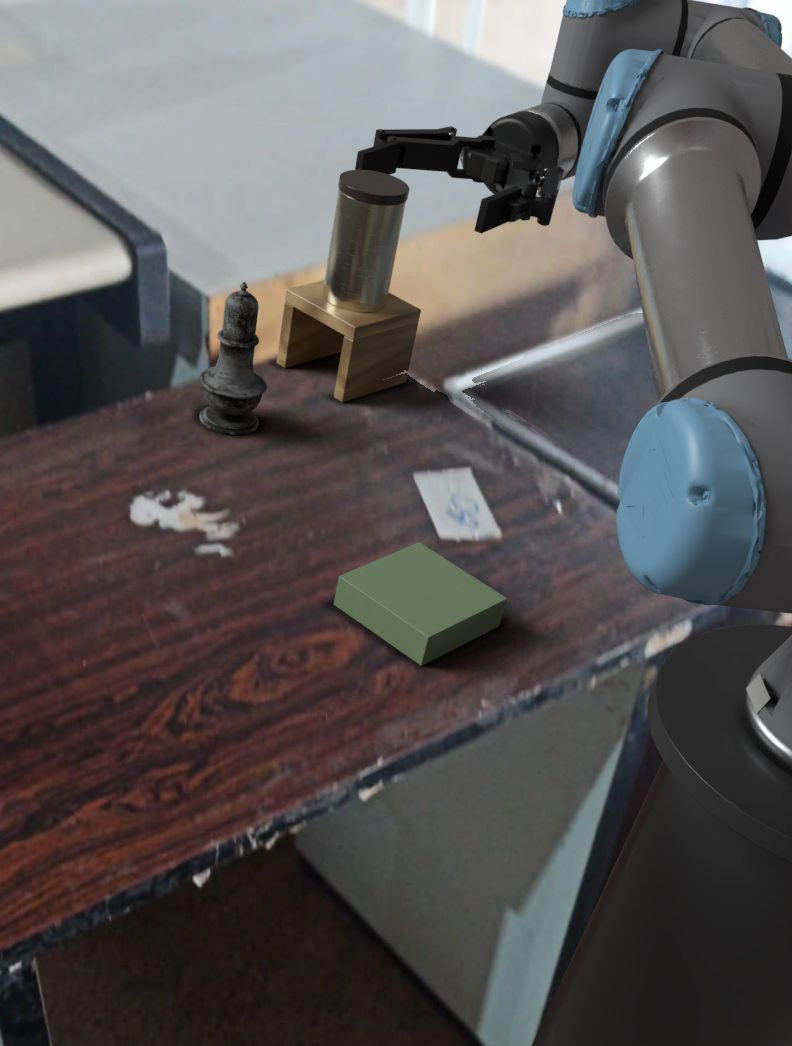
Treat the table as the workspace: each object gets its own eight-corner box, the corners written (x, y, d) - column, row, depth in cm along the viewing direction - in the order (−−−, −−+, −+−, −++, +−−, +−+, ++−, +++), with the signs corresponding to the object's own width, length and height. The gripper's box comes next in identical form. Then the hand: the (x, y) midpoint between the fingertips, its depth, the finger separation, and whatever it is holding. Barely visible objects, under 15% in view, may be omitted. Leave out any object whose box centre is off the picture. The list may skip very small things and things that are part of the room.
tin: (400, 306, 119) (423, 190, 112) (355, 318, 116) (376, 199, 108) (353, 280, 122) (373, 166, 115) (307, 291, 118) (324, 174, 111)
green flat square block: (499, 626, 97) (507, 598, 95) (421, 666, 92) (428, 637, 90) (412, 569, 101) (419, 541, 99) (333, 604, 96) (338, 575, 94)
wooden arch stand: (406, 382, 124) (421, 309, 119) (342, 402, 119) (355, 327, 114) (340, 344, 128) (353, 272, 123) (276, 363, 123) (286, 288, 118)
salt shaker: (193, 430, 111) (206, 290, 103) (198, 400, 115) (211, 262, 107) (260, 440, 112) (278, 301, 103) (263, 410, 116) (281, 273, 107)
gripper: (621, 231, 130) (524, 280, 117) (417, 154, 138) (304, 191, 125) (646, 150, 125) (547, 192, 112) (432, 74, 133) (316, 105, 120)
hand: (418, 192), depth 118 cm, fingers open, 13 cm apart
